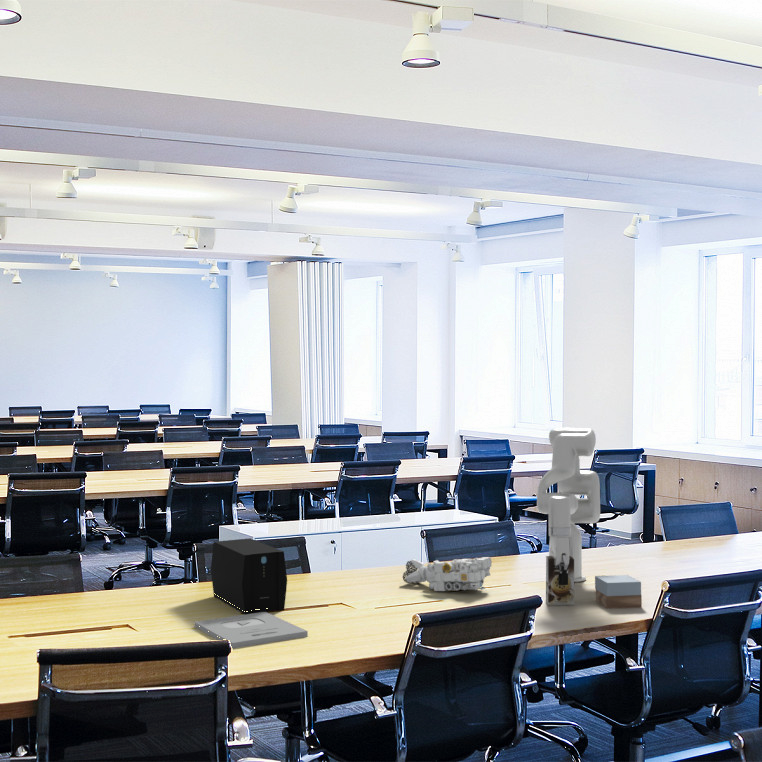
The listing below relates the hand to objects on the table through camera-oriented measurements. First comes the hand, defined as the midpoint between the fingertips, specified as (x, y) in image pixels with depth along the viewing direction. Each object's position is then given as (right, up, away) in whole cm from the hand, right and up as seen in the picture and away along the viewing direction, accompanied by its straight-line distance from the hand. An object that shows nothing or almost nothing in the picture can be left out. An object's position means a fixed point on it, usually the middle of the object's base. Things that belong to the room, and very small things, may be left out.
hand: (559, 582), depth 341 cm
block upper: (+20, -3, -1) cm, 20 cm away
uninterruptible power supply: (-109, -8, +4) cm, 110 cm away
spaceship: (-38, -8, +25) cm, 47 cm away
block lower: (+20, -8, -1) cm, 22 cm away
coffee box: (0, -8, 0) cm, 8 cm away
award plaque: (-103, -9, -36) cm, 109 cm away
